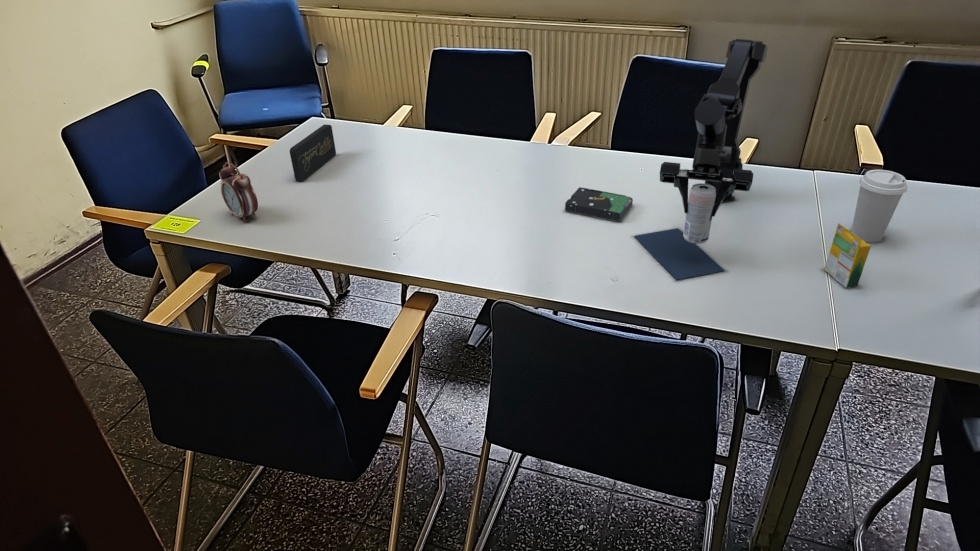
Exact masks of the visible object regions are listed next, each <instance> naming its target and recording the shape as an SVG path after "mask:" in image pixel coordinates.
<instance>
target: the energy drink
mask: <svg viewBox="0 0 980 551" xmlns="http://www.w3.org/2000/svg"><path fill="white" fill-rule="evenodd" d="M715 199H716V188H715V187H714V186H712V185H709V184H705V183H703V182H702V183H700V182H699V183H695V184H693V185H691V188H690V189H689V192H688V208H687V213H685V220H684V228H683V237H684V239H685V240H686V241H688V242H690V243H694V244H696V245H702V244H705V243H706V242H708V241H709V238H710V234H711V233H710V232H711V227H712V222H713V217H712V214H713V209H714V205H715Z"/></svg>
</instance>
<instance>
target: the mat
mask: <svg viewBox="0 0 980 551" xmlns="http://www.w3.org/2000/svg"><path fill="white" fill-rule="evenodd" d="M683 233H684V231H682V230H681V229H679V228H678V227H675V228H671V229H665V230H660V231H653V232H647V233H643V234H637V235H634V236H633V237H634V239H636V240H637V242H638V243H639V244H640V245H642V247H643V248H644V249H645V250H646V251H647V252H648V253H649V254H650V255H651V256H652V257H653V259H655V260H656V261H657V262H658V263H659V264H660V265H661V267H663V269H664V270H666V272H667V273H668V274H670V276H671V277H672V278H673V279H674V280H675V281H683V280H687V279H693V278H698V277H703V276H708V275H713V274H719V273H724V272H725V271H726V270H725V269H724V268H723V267H722V266H721V265H720V264H718V263H717V261H716V260H714V259H713V258H712V257H711V256H709V254H708V253H707V252H705V251H704V250H703V249H702V248H701V247H700V246H698V244H694V243H690V242H688V241H686V240H685V239H684V237H683Z"/></svg>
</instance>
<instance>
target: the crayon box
mask: <svg viewBox="0 0 980 551" xmlns="http://www.w3.org/2000/svg"><path fill="white" fill-rule="evenodd" d="M871 248H872V247H871V245H870V243H868V242H865V241H863V240H862V239H861V238H859V237H858V236H856V235H855V234H854V233H852V232H851V230H849V229H848V228H846V226H843V224H841V223H839V222H838V223H837V227H836V230H835V233H834V236H833V239H832V242H831V246H830V248H829V252H828V256H827V259H826V263H825V266H824V268H823V271H824V272H826V273H827V274H829V275H830V276H831V277H832V278H833V279H834V280H835V281H837V283H839V284H841V285H842V286H843V287H844V288H845V289H848V288H854V287H858V286H859V283H860V280H861V277H862V275H863V270H864V268H865V265H866V262H867V259H868V256H869V252H870V250H871Z"/></svg>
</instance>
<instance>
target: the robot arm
mask: <svg viewBox="0 0 980 551" xmlns="http://www.w3.org/2000/svg"><path fill="white" fill-rule="evenodd" d="M767 53H768V45H767V44H765V43H764V41H763V40H754V39H746V38H736V39H732V40H729V41H728V46H727V50H726V54H725V57H726V59H727V60H726V62H725V64H724V67H723V70H722V72H721V75H720V77H719V79H718V80H717V81H715V82H713V83H712V84H710V86H709V88H708V90H707V92H706V93H704V94H703V96H702V98H701V99H700V101H699V102H698V104H697V105H696V107H695V108H694V112H693V115H694V120H695V126H696V131H697V138H696V144H695V151H694V155H693V158H692V159H693V161H692V169H686V168H681V163H680V162H671V161H670V162H669V161H663V162H662V163H661V164H660V170H659V182H661V183H664V184H665V183H666V184H673V187H674V188H678V191H679V194H680V197H681V201H682V206H683V212H684V214H686V213H687V208H688V200H689V180H696V181H703V182H704V184H709V185H712V186H714V187H715V188H716V199H715V205H714V209H713V214H712V218H714V217H715V216H716V214H717V212H718V210H719V209H720V206H721V205H722V203H724V202H731V201H735V200H736V197H735V196H734V195H733V194H734V193H735V191H738V192H739V191H740V192H749V191H751V187H752V185H753V181H754V172H753V171H752V170H751V169H744V168H743V167H744V165H743V162H742V158H741V157H740V156H741V154H742V153H741V152H742V151H741V148H740V144H739V142H738V136H739V132H740V127H741V124H742V119H743V114H744V111H745V105H746V101H747V97H748V92H749V89H750V83H751V80H752V79H753V78H754V76H755V75H756V74H757V73H758V72H760V70H761V67H762V63H765V61H766V57H767V55H768V54H767Z"/></svg>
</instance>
